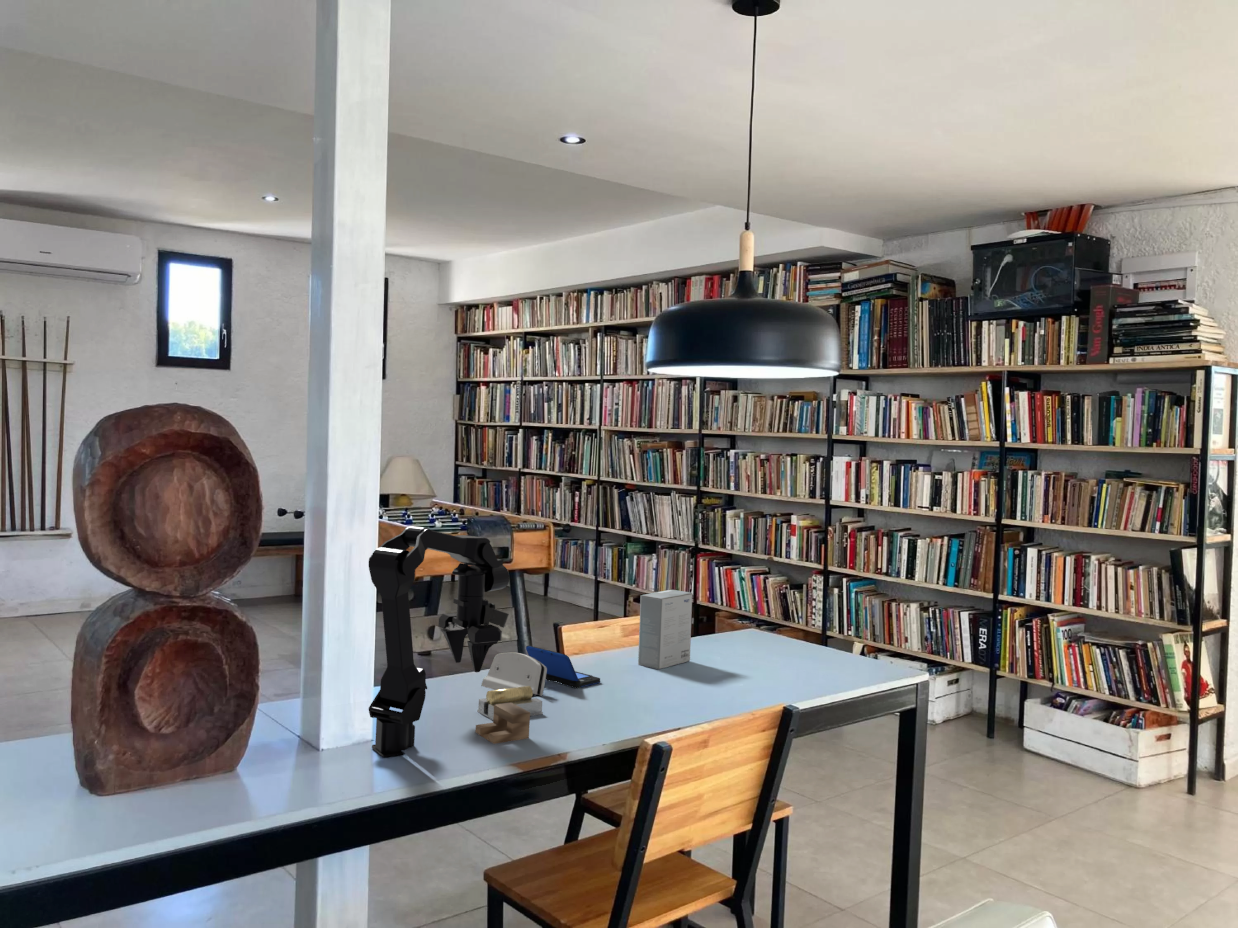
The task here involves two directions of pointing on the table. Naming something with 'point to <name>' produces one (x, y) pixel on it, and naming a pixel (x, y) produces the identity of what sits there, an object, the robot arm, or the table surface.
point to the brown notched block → (506, 724)
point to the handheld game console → (561, 668)
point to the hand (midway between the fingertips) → (467, 667)
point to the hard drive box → (665, 628)
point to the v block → (529, 704)
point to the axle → (509, 695)
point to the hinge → (516, 673)
